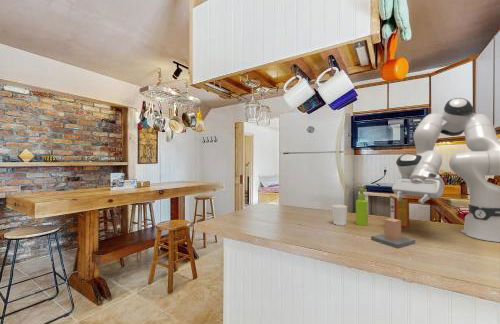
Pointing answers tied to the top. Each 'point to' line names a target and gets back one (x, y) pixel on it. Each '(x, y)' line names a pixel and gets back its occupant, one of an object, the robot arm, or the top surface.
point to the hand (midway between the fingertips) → (409, 201)
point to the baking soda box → (400, 210)
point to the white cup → (339, 214)
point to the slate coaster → (397, 243)
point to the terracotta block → (392, 229)
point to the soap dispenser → (361, 209)
